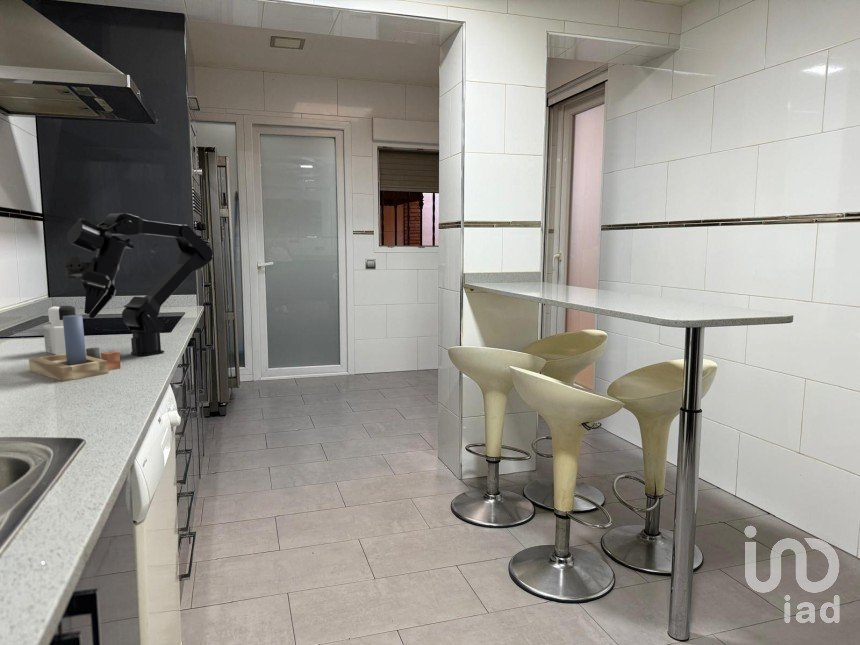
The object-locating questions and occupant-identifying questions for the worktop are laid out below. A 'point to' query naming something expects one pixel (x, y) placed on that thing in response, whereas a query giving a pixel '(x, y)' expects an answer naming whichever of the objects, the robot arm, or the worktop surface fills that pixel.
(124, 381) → the worktop surface
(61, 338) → the container
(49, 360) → the socket board
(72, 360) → the blue-grey cylinder
